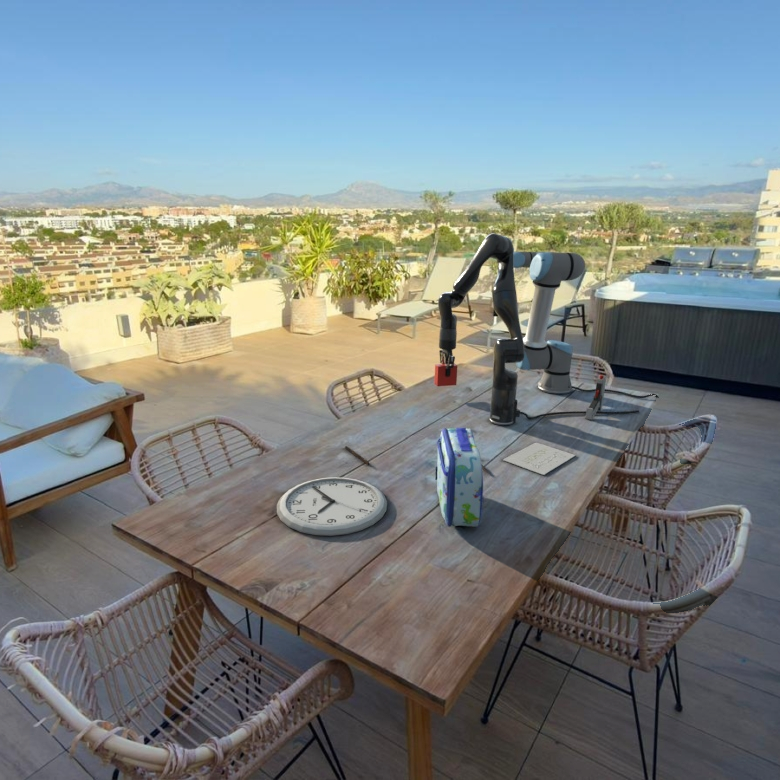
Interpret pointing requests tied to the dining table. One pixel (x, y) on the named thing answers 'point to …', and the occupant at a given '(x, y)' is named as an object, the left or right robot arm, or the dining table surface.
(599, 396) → the toy gun
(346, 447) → the brown thin stick
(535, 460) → the invitation card
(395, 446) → the dining table surface
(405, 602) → the dining table surface
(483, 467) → the fork
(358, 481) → the wall clock
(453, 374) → the brick
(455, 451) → the lunch box
